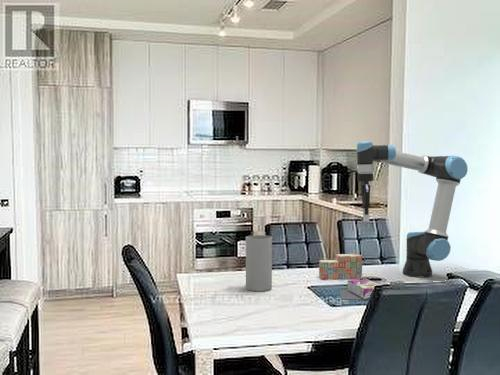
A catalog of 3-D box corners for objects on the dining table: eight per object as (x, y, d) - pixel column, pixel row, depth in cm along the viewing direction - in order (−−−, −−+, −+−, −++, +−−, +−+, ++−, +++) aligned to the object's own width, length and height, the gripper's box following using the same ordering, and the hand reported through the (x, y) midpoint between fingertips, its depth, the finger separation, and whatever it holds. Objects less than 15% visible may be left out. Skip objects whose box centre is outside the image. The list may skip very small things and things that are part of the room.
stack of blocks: (321, 280, 263) (321, 256, 263) (319, 277, 269) (319, 254, 269) (362, 279, 265) (362, 255, 264) (358, 276, 271) (358, 253, 270)
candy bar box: (368, 278, 243) (386, 287, 227) (368, 288, 243) (386, 298, 227) (347, 279, 240) (363, 288, 224) (346, 290, 240) (363, 299, 224)
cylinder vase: (269, 292, 238) (269, 239, 237) (243, 291, 240) (243, 238, 239) (273, 286, 250) (273, 235, 249) (248, 285, 253) (248, 234, 251)
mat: (373, 290, 240) (373, 290, 240) (378, 300, 224) (378, 299, 224) (338, 290, 242) (338, 289, 242) (341, 299, 225) (341, 299, 225)
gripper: (355, 173, 256) (356, 219, 258) (359, 173, 243) (360, 223, 245) (371, 172, 256) (371, 219, 257) (375, 173, 243) (376, 222, 244)
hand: (366, 221), depth 251 cm, fingers closed
